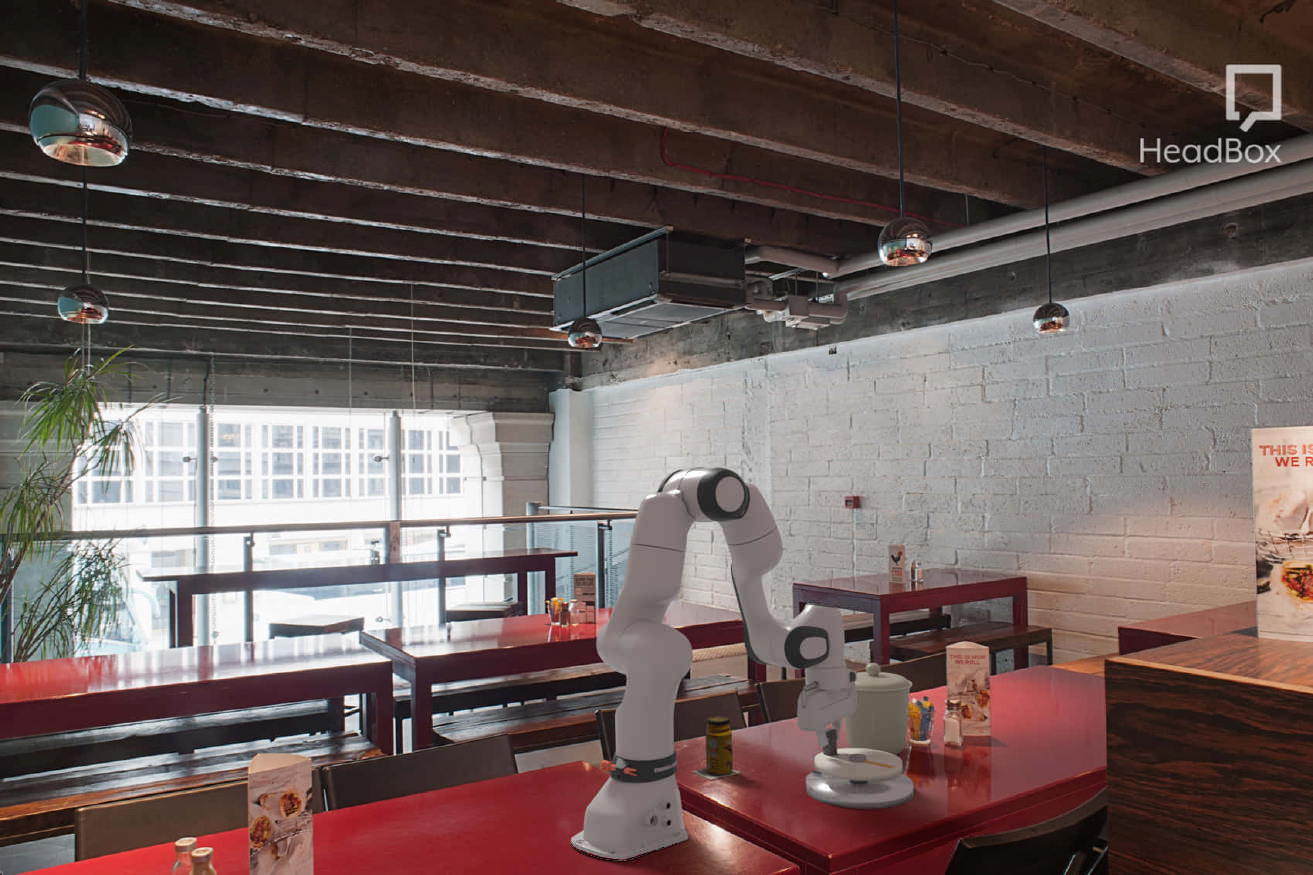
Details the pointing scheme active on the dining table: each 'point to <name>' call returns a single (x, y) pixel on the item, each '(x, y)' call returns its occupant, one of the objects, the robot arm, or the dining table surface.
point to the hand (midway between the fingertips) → (829, 742)
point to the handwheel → (856, 762)
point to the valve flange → (860, 791)
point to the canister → (879, 711)
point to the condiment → (718, 749)
